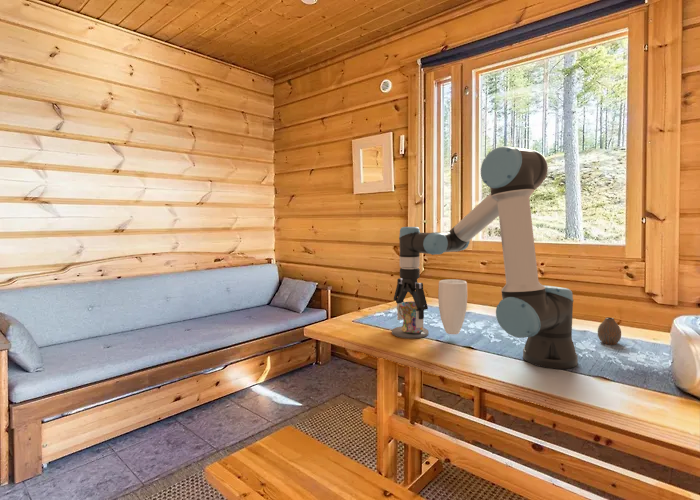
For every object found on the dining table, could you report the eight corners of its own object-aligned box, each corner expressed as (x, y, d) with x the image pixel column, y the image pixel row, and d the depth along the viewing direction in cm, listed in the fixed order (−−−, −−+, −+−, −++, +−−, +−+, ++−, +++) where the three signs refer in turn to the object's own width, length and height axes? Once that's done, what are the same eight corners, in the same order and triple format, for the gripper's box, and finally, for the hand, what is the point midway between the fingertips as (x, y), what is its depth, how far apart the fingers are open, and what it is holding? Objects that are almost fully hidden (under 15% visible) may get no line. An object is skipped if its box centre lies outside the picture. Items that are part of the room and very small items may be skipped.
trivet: (436, 335, 153) (436, 333, 153) (404, 341, 147) (404, 338, 147) (414, 326, 165) (414, 324, 165) (385, 331, 159) (384, 328, 159)
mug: (430, 331, 154) (429, 303, 152) (412, 336, 148) (411, 308, 147) (408, 325, 163) (407, 299, 162) (390, 330, 158) (389, 303, 157)
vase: (609, 347, 137) (610, 321, 136) (592, 341, 143) (593, 316, 142) (625, 345, 138) (626, 319, 138) (608, 339, 145) (609, 315, 144)
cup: (471, 339, 148) (471, 280, 146) (461, 346, 139) (462, 284, 137) (444, 334, 154) (444, 278, 152) (433, 342, 145) (433, 282, 143)
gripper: (437, 270, 144) (437, 329, 146) (400, 263, 166) (401, 315, 168) (420, 272, 141) (420, 332, 143) (384, 264, 163) (385, 317, 165)
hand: (409, 323), depth 156 cm, fingers open, 12 cm apart
